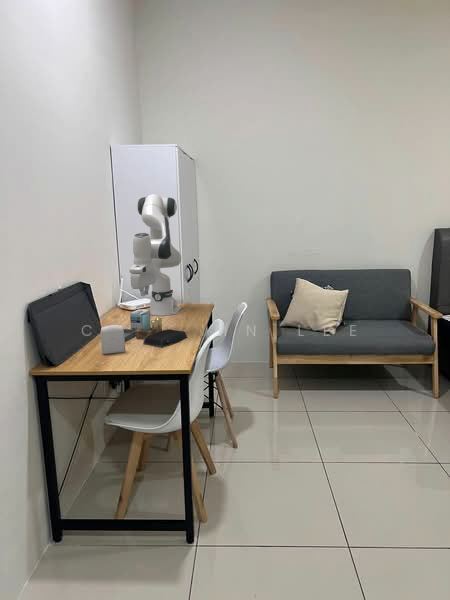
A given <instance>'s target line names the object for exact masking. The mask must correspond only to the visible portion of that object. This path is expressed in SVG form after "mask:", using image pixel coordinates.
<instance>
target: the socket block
mask: <svg viewBox="0 0 450 600" xmlns="http://www.w3.org/2000/svg"><path fill="white" fill-rule="evenodd" d="M156 332H157V328H152V327H151V328H150V330H149V331H143V327H142V328H140V329H138V330H137V331H136V336H135V339H136V340H143V341H144V340H145V338H146V337H147V336H149V335H151V334H153V333H156Z"/></svg>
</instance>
